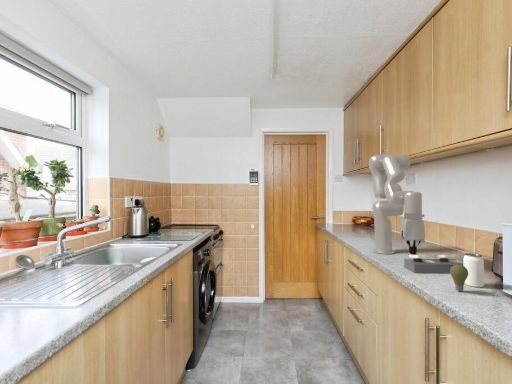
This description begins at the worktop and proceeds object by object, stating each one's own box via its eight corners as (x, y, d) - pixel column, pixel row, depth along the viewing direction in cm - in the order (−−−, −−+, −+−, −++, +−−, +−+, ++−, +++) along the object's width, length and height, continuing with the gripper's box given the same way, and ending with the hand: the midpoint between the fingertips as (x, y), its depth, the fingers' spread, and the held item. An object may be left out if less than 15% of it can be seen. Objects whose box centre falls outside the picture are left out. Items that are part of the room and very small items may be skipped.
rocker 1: (408, 257, 136) (408, 254, 137) (417, 257, 136) (417, 254, 136) (418, 258, 128) (417, 255, 128) (427, 258, 127) (426, 255, 127)
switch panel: (404, 267, 137) (404, 256, 137) (454, 267, 136) (454, 255, 136) (414, 273, 127) (414, 261, 127) (469, 273, 126) (469, 261, 126)
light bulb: (446, 288, 106) (446, 262, 106) (460, 288, 107) (459, 262, 107) (458, 294, 101) (457, 266, 101) (472, 293, 101) (472, 266, 101)
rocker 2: (434, 257, 135) (434, 255, 136) (443, 257, 135) (442, 255, 136) (445, 257, 127) (444, 254, 127) (454, 257, 126) (453, 254, 127)
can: (461, 284, 111) (461, 254, 111) (466, 281, 115) (465, 252, 115) (482, 289, 106) (481, 257, 106) (486, 285, 110) (485, 254, 110)
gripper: (424, 215, 139) (424, 252, 140) (393, 216, 140) (393, 252, 141) (433, 217, 132) (433, 256, 132) (400, 218, 133) (400, 256, 133)
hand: (412, 253), depth 136 cm, fingers closed
